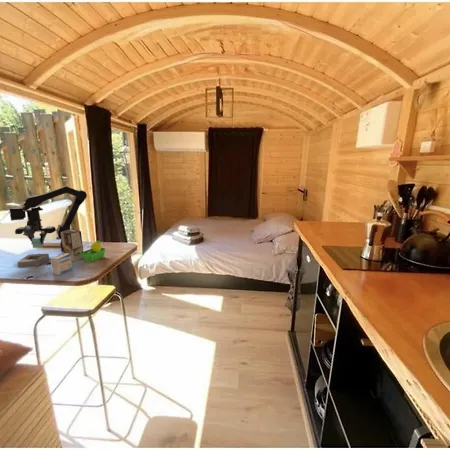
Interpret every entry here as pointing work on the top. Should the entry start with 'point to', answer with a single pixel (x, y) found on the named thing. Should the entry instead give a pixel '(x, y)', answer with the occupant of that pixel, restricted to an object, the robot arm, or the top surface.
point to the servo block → (37, 242)
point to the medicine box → (61, 263)
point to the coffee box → (72, 243)
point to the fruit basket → (94, 252)
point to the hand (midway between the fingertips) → (38, 244)
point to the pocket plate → (33, 259)
